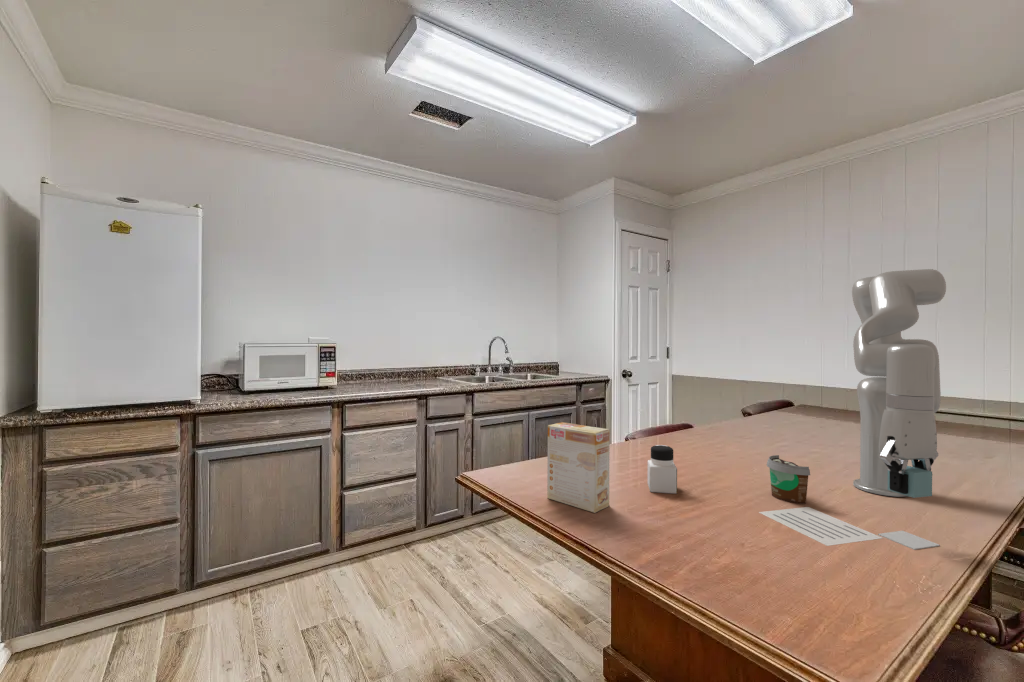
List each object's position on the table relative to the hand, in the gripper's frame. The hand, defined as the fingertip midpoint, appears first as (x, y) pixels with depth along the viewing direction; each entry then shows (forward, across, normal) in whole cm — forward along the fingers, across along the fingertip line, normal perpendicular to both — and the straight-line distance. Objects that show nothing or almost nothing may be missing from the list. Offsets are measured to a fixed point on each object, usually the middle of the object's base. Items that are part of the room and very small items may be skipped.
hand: (909, 489), depth 93 cm
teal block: (+1, 0, 0) cm, 1 cm away
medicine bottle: (+11, +32, -41) cm, 53 cm away
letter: (+11, +11, -11) cm, 19 cm away
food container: (+11, +4, -27) cm, 30 cm away
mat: (+11, 0, 0) cm, 11 cm away
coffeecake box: (+12, +58, -37) cm, 70 cm away
